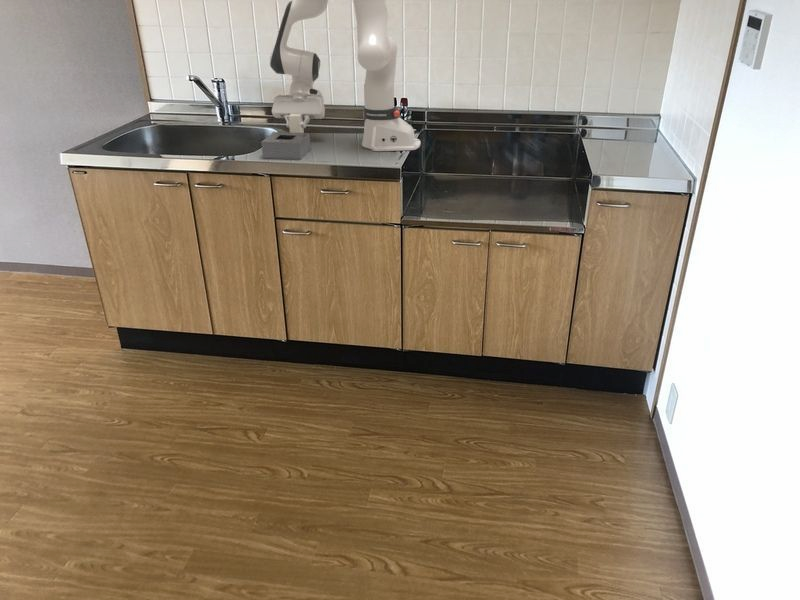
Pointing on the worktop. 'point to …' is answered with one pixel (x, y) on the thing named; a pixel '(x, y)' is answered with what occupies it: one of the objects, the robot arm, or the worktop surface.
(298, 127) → the plug
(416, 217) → the worktop surface
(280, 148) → the grey socket block
